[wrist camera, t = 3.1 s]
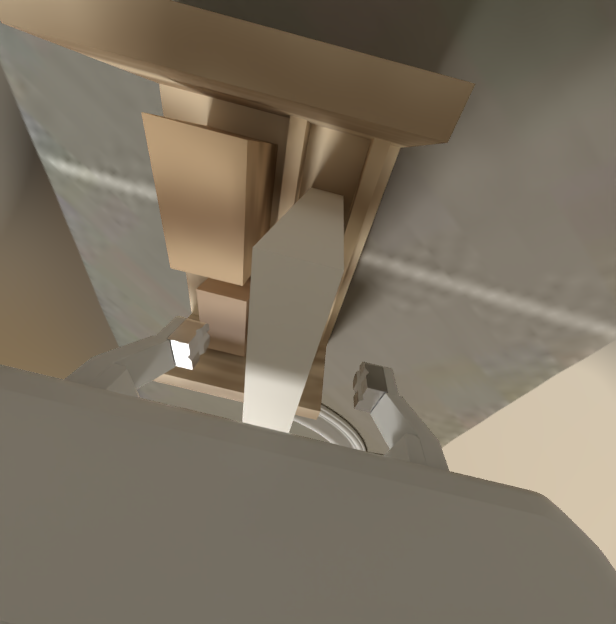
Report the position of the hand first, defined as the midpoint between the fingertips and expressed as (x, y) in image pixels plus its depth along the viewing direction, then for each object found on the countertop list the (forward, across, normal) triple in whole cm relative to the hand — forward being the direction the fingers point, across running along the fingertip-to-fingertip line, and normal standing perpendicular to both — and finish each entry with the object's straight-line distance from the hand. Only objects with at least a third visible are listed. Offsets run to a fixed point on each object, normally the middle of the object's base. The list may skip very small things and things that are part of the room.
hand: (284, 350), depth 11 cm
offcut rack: (+12, +4, 0) cm, 13 cm away
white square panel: (+11, 0, 0) cm, 11 cm away
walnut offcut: (+11, +6, +5) cm, 13 cm away
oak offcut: (+10, +6, -4) cm, 13 cm away
